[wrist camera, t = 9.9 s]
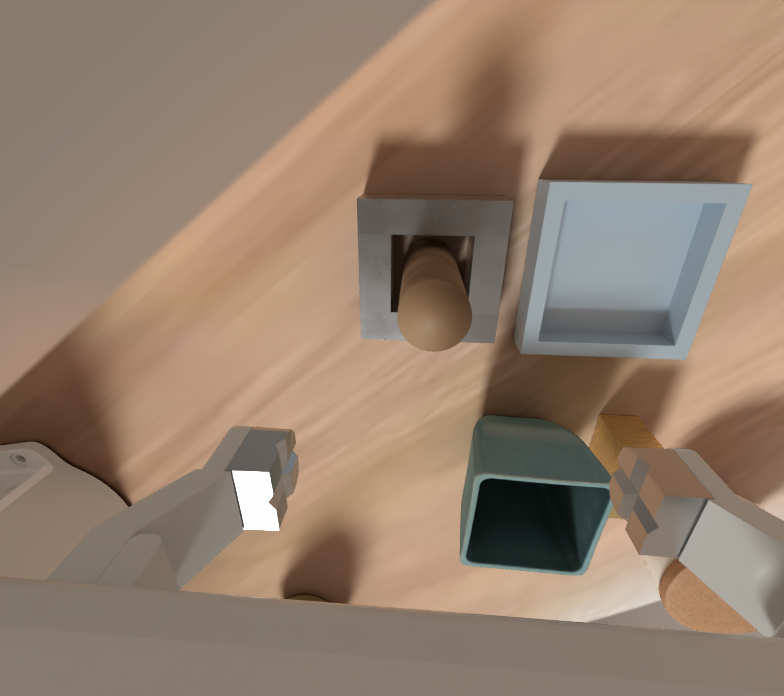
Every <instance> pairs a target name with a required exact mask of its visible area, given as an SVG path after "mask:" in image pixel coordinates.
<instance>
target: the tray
mask: <svg viewBox="0 0 784 696" xmlns="http://www.w3.org/2000/svg"><path fill="white" fill-rule="evenodd" d="M752 185H753V184H744V183H735V182H725V181H663V180H579V179H538V185H537V191H536V197H535V204H534V210H533V216H532V223H531V229H530V235H529V242H528V248H527V254H526V260H525V267H524V273H523V279H522V286H521V292H520V298H519V305H518V311H517V317H516V324H515V330H514V336H513V340H514V342H515V344H516V346H517V348H518V350H519V352H520V354H533V355H563V356H592V357H621V358H651V359H680V360H686V358H687V355H688V352H689V350H690V347H691V344H692V342H693V339H694V337H695V334H696V331H697V329H698V326H699V324H700V321H701V318H702V316H703V313H704V310H705V308H706V305H707V303H708V300H709V297H710V295H711V292H712V290H713V287H714V284H715V282H716V279H717V276H718V274H719V271H720V269H721V266H722V263H723V261H724V258H725V256H726V253H727V250H728V248H729V245H730V242H731V240H732V237H733V235H734V232H735V229H736V227H737V224H738V222H739V219H740V216H741V214H742V211H743V208H744V206H745V203H746V201H747V198H748V195H749V193H750V190H751V188H752Z"/></svg>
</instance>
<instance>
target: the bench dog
mask: <svg viewBox="0 0 784 696" xmlns="http://www.w3.org/2000/svg"><path fill="white" fill-rule="evenodd" d="M624 447H634V448H656V449H664V448H663V447H662V446H661V444H660V443H659V442H658V441H657V439H656V438H655V437H654V436H653V435H652V433H651V432H650V431H649V430H648V428H647V427H646V426H645V425H644V424H643V422H642V421H641V420H640V419H639V418H638V416H622V415H599V417H598V420H597V424H596V427H595V431H594V434H593V437H592V441H591V444H590V448H589V449H590V450H591V451H592V452H593V454H594V455H595V456H596V457H597V458H598V460H599V461H600V462H601V464H602V465H603V466H604V467H605V469H606V470H607V471H608V472H609V474H610V475H611V476H612V474H613V473H614V472H615V471H617V470H618V469H619V468H621V466H620V464H619V462H618V461H617V459H618V456H619V453H620V451H621V450H622V449H623V448H624ZM608 518H621V519H624V518H622V517H621V516H620V515H618V514H617V513H616V511H615V509H614V507H613V508H612V511H611V512H610V516H609V517H608Z"/></svg>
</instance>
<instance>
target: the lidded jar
mask: <svg viewBox="0 0 784 696" xmlns="http://www.w3.org/2000/svg"><path fill="white" fill-rule="evenodd" d="M735 495H736V496H737V497H738V498H739V499H740V500H741V501H744V502H750V503H752V504H754V503H753V502H751V501H749V500H747V499H745V498H743V497H741V496H739V495H737V494H735ZM754 505H756V504H754ZM756 506H757V507H759V506H758V505H756ZM759 508H760V507H759ZM761 509H762V508H761ZM643 557H644V561H645V563H646V566H647V569H648V571H649V573H650V576H651V578H652V580H653V582H654V584H655V586H656V588H657V590H658V592H659V594H660V597H661V600H662V602H663V604H664V606H665V608H666V609H667V611H668V613H669V614H670V615H671V616H672V617H673V618H674V619H675V620H676V621H678V622H679V623H680V624H682V625H684V626H686V627H689V628H691V629H693V630H696V631H701V632H712V633H724V634H740V633H747V632H753V631H757V629H756V628H755V627H753V626H752V625H751V624H750V623H749V622H748V621H747V620H745V619H744V618H743V617H742V616H741V615H740V614H739V613H738V612H736V611H735V610H734V609H733V608H732V607H731V606H730V605H729V604H727V603H726V602H725V601H724V600H723V599H722V598H721V597H719V596H718V595H717V594H716V593H715V592H714V591H713V590H712V589H710V588H709V587H708V586H707V585H706V584H705V583H704V582H703V581H701V580H700V579H699V578H698V577H697V576H696V575H695V574H693V573H692V572H691V571H690V570H689V569H688V568H687V567H686V566H684V565H683V564H682V563H681V562H680V561H679V558H669V557H659V556H648V555H643Z"/></svg>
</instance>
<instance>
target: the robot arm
mask: <svg viewBox="0 0 784 696" xmlns="http://www.w3.org/2000/svg"><path fill="white" fill-rule="evenodd" d="M295 444H296V440H295V433H294V431H293V430H291V429H278V428H264V427H247V426H234V427H232V428H231V429H230V430H229V432H228V433H227V435H226V436H225V437H224V439H223V440H222V442H221V443H220V444H219V446H218V447H217V449H216V450H215V452H214V453H213V454H212V456H211V457H210V459H209V460H208V462H207V463H206V464H205V466H204V467H203V469H196V470H194V471H192V472H190V473H188V474H187V475H185V476H183V477H181V478H180V479H178V480H176V481H174V482H172V483H171V484H169V485H167V486H165V487H164V488H162V489H160V490H158V491H157V492H155V493H153V494H151V495H149V496H148V497H146V498H144V499H142V500H141V501H139V502H137V503H135V504H133V505H132V506H130V507H128V506H127V505H126V503H125V502H124V501H123V500H122V499H121V498H120V496H119V495H118V494H116V493H115V492H114V491H113V490H112V489H111V488H110V487H108V486H107V485H106V484H104V483H103V482H101V481H100V480H98V479H97V478H95V477H93V476H91V475H90V474H88V473H86V472H84V471H81V470H79V469H77V468H75V467H73V466H71V465H69V464H68V463H66V462H65V461H63V460H62V459H61V458H60V457H59V456H57V455H56V454H55V453H54V452H52V451H51V450H50V449H48V448H47V447H46V446H44V445H42V444H40V443H37V442H24V443H16V444H8V445H0V696H784V521H783V520H781V519H779V518H777V517H775V516H774V515H772V514H770V513H768V512H766V511H765V510H763V509H761V508H759V507H757V506H756V505H754V504H752V503H750V502H744V501H741V500H740V499H739V498H738V497H737V496H736V495H735V494H734V493H733V491H732V490H731V489H730V488H729V487H728V486H727V485H726V484H725V483H724V482H723V481H722V479H721V478H720V477H719V476H718V475H717V474H716V473H715V472H714V471H713V470H712V468H711V467H710V466H709V465H708V464H707V463H706V462H705V461H704V460H703V459H702V458H701V456H700V455H699V454H698V453H697V452H695V451H693V450H691V449H669V448H668V449H656V448H634V447H624V448H623V449H622V450H621V451H620V453H619V456H618V459H617V461H618V462H619V464H620V466H621V468H619V469H618V470H617V471H615V472H614V473H613V474H612V477H611V480H610V484H609V488H610V498H611V502H612V505H613V507H614V509H615V511H616V513H617V514H618V515H620V516H621V517H622V518H624V519H625V520H626V521H628V523H627V526H626V529H625V530H626V531H627V533H628V535H629V537H630V539H631V541H632V542H633V544H634V546H635V548H636V550H637V552H638V554H639V555H648V556H659V557H669V558H679V561H680V562H681V563H682V564H683V565H684V566H686V567H687V568H688V569H689V570H690V571H691V572H692V573H693V574H695V575H696V576H697V577H698V578H699V579H700V580H701V581H703V582H704V583H705V584H706V585H707V586H708V587H709V588H710V589H712V590H713V591H714V592H715V593H716V594H717V595H718V596H719V597H721V598H722V599H723V600H724V601H725V602H726V603H727V604H729V605H730V606H731V607H732V608H733V609H734V610H735V611H736V612H738V613H739V614H740V615H741V616H742V617H743V618H744V619H745V620H747V621H748V622H749V623H750V624H751V625H752V626H753V627H755V628H756V629H757V630H758V631H759V632H760V633H761V634H763V635H764V636H765V637H762V636H749V635H737V634H724V633H712V632H699V631H686V630H673V629H661V628H648V627H634V626H621V625H608V624H596V623H583V622H571V621H558V620H545V619H532V618H520V617H507V616H494V615H482V614H469V613H456V612H444V611H431V610H418V609H406V608H393V607H380V606H367V605H355V604H342V603H329V602H316V601H304V600H291V599H278V598H265V597H253V596H240V595H227V594H214V593H202V592H189V591H180V589H181V588H182V587H183V586H184V585H185V584H186V583H187V582H188V581H189V580H191V579H192V578H193V577H194V576H195V575H196V574H197V573H198V572H199V571H200V570H202V569H203V568H204V567H205V566H206V565H207V564H208V563H209V562H210V561H211V560H212V559H214V558H215V557H216V556H217V555H218V554H219V553H220V552H221V551H222V550H223V549H225V548H226V547H227V546H228V545H229V544H230V543H231V542H232V541H233V540H234V539H236V538H237V537H238V536H239V535H240V534H241V533H242V532H243V531H244V529H260V530H279V528H280V526H281V523H282V520H283V518H284V515H285V513H286V510H287V501H286V498H287V497H289V496H290V495H291V494H293V492H294V489H295V486H296V483H297V478H298V467H299V463H298V456H297V455H296V454H295V453H294V452H293V448H294V446H295Z"/></svg>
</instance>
